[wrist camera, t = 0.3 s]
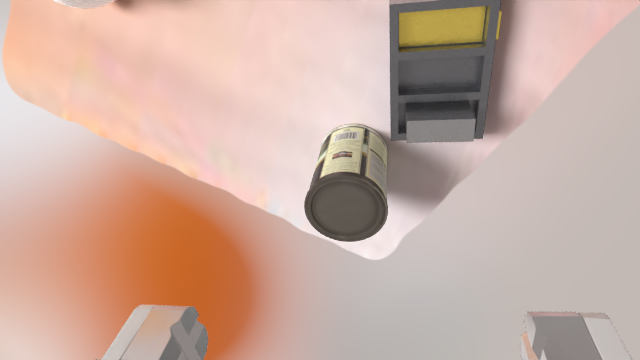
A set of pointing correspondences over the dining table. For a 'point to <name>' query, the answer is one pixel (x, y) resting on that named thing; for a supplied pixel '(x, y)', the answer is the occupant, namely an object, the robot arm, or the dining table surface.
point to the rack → (441, 68)
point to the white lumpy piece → (84, 3)
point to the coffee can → (349, 185)
